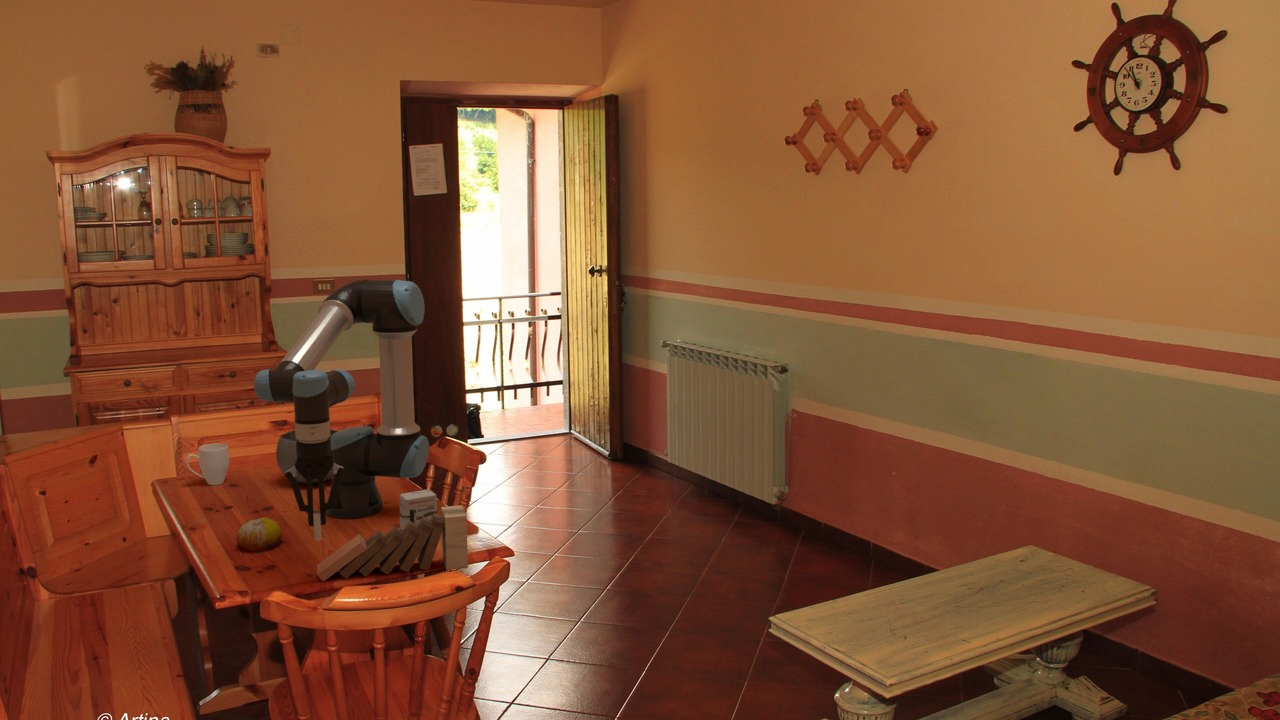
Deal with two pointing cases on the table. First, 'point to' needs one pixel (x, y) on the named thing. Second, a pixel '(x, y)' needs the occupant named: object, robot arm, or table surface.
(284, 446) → the bowl
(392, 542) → the domino
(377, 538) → the domino
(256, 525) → the fruit
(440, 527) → the domino
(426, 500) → the ink box
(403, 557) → the domino
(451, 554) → the bookend block
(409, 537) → the domino
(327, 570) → the domino
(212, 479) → the mug
